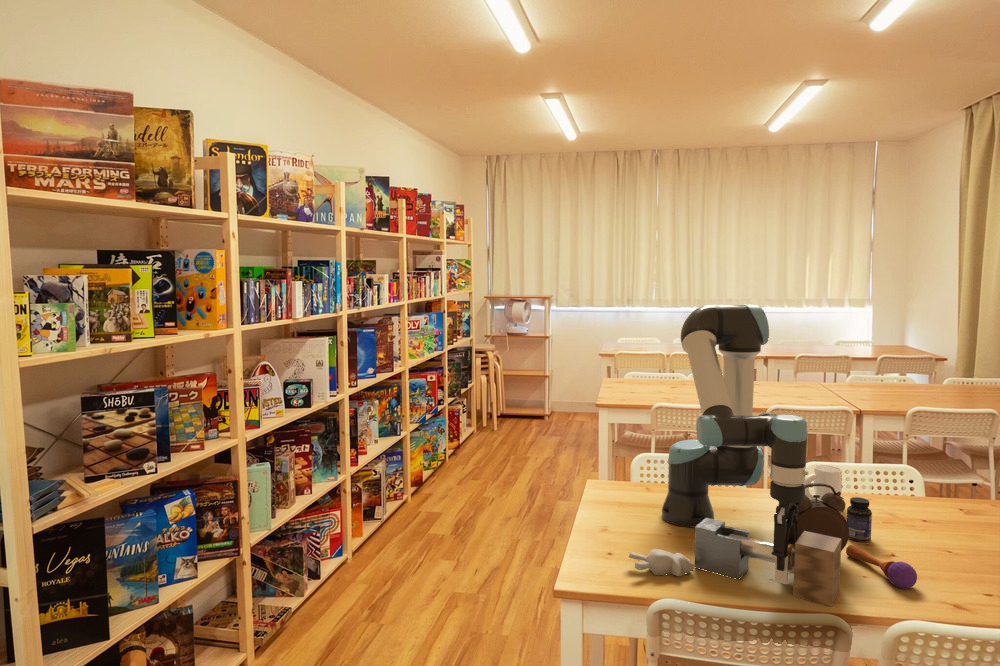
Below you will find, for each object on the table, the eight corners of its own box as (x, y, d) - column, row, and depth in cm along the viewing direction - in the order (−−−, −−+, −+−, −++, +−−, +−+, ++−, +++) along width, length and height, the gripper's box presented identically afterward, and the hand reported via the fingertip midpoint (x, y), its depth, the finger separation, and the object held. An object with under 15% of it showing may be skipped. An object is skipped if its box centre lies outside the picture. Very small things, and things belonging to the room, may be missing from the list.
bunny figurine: (699, 564, 160) (638, 559, 159) (696, 584, 160) (635, 579, 159) (685, 547, 169) (628, 542, 168) (683, 566, 169) (626, 562, 168)
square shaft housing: (694, 568, 166) (695, 526, 165) (705, 557, 172) (705, 517, 171) (738, 580, 159) (739, 537, 158) (748, 568, 165) (749, 527, 164)
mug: (795, 501, 213) (796, 464, 212) (832, 500, 214) (833, 464, 212) (807, 510, 205) (809, 472, 204) (845, 509, 205) (847, 472, 204)
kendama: (863, 540, 173) (925, 568, 153) (859, 563, 173) (921, 593, 153) (843, 538, 172) (902, 565, 152) (839, 560, 172) (899, 591, 152)
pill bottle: (874, 543, 180) (875, 504, 179) (849, 541, 181) (851, 503, 180) (866, 534, 186) (868, 496, 185) (842, 533, 187) (844, 495, 186)
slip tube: (725, 558, 162) (726, 535, 161) (733, 550, 166) (734, 527, 166) (809, 579, 150) (810, 554, 150) (815, 570, 155) (816, 545, 154)
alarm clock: (836, 553, 174) (839, 479, 172) (849, 565, 167) (852, 488, 165) (780, 552, 175) (782, 478, 173) (790, 564, 168) (793, 487, 166)
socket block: (793, 596, 151) (795, 543, 150) (802, 581, 158) (804, 530, 157) (831, 606, 146) (833, 552, 145) (839, 590, 154) (841, 538, 152)
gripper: (795, 496, 144) (791, 597, 147) (814, 474, 160) (810, 566, 162) (759, 489, 149) (756, 587, 151) (781, 469, 164) (778, 558, 166)
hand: (784, 576), depth 156 cm, fingers closed on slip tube, 6 cm apart
